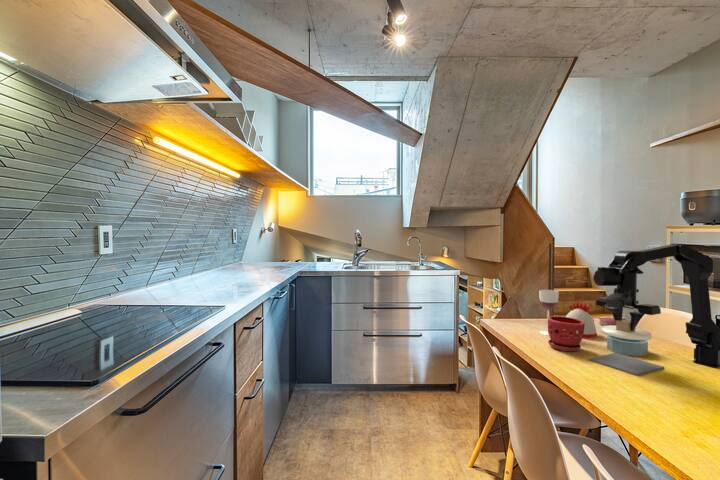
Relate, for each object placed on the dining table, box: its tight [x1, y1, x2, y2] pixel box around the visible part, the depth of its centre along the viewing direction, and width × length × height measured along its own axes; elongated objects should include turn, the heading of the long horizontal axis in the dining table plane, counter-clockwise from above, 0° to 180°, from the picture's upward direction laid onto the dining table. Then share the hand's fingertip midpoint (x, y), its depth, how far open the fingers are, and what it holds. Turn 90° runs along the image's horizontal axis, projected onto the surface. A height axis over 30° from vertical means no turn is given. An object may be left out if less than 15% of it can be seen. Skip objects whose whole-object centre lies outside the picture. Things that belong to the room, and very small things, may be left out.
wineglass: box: [538, 289, 560, 336], centre depth 168 cm, size 8×9×20 cm
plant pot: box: [547, 315, 585, 352], centre depth 147 cm, size 13×13×12 cm
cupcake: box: [598, 314, 616, 327], centre depth 170 cm, size 9×8×12 cm
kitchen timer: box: [563, 301, 598, 339], centre depth 168 cm, size 14×14×15 cm
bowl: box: [606, 334, 649, 357], centre depth 144 cm, size 13×13×5 cm
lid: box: [600, 318, 653, 341], centre depth 129 cm, size 15×15×5 cm
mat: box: [588, 352, 665, 377], centre depth 129 cm, size 16×16×1 cm
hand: (625, 329), depth 129 cm, fingers closed on lid, 4 cm apart
